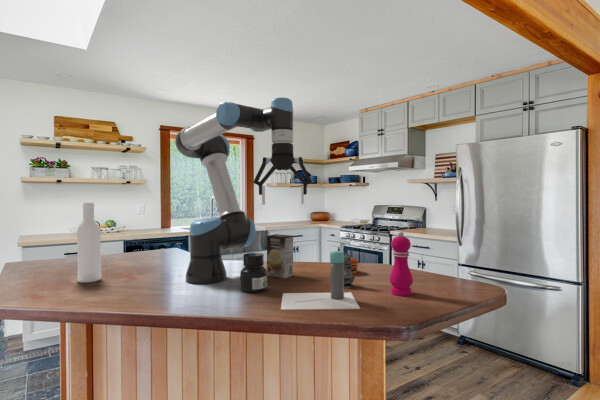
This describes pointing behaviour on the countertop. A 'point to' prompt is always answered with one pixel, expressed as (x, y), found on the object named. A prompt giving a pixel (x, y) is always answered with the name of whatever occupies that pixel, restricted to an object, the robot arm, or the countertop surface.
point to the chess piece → (348, 272)
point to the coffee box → (280, 255)
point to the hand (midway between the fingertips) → (283, 204)
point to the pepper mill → (401, 266)
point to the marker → (337, 275)
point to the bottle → (88, 246)
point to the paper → (317, 301)
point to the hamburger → (354, 266)
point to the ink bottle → (253, 273)
